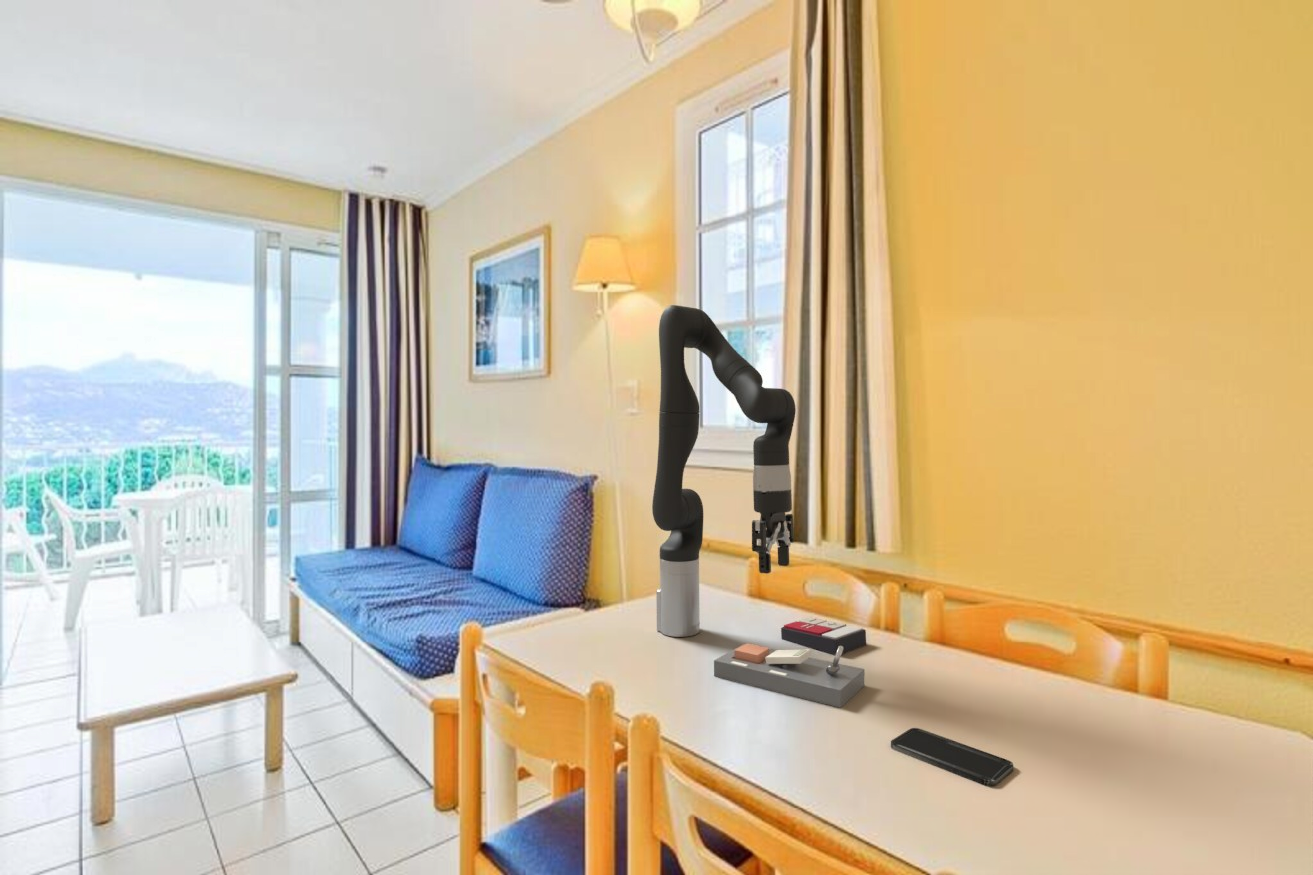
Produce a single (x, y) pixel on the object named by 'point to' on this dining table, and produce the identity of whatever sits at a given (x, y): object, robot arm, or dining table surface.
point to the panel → (795, 678)
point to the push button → (751, 653)
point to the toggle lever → (835, 663)
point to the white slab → (788, 656)
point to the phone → (953, 756)
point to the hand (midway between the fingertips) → (774, 569)
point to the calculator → (824, 635)
